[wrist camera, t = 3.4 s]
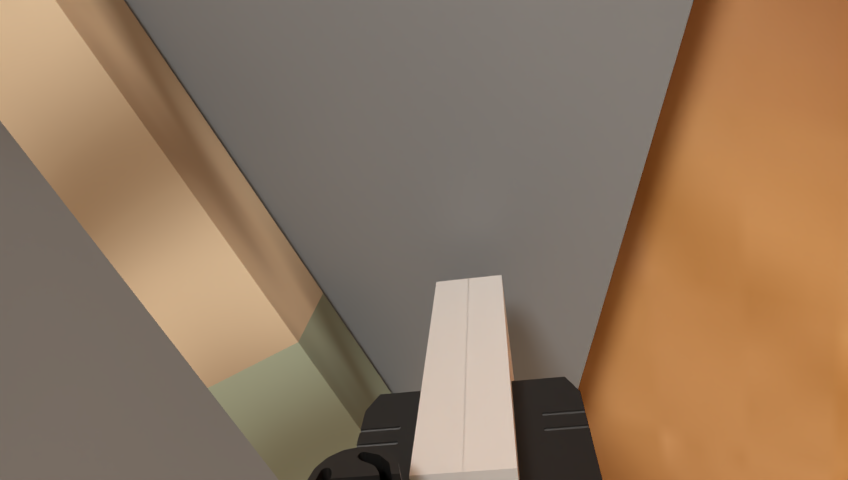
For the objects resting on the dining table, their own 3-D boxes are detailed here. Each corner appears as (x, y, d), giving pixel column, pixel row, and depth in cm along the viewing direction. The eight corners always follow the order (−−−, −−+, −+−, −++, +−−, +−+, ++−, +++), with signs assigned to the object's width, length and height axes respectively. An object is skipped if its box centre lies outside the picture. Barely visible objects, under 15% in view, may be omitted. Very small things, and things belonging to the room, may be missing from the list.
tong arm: (-50, -65, 15) (-151, -74, 12) (34, -133, 14) (-56, -156, 12) (327, 448, 19) (305, 514, 16) (404, 412, 18) (393, 476, 16)
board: (-308, -378, 14) (-376, -410, 13) (733, -193, 14) (754, -208, 13) (-157, 463, 22) (-191, 489, 21) (506, 590, 22) (508, 623, 21)
